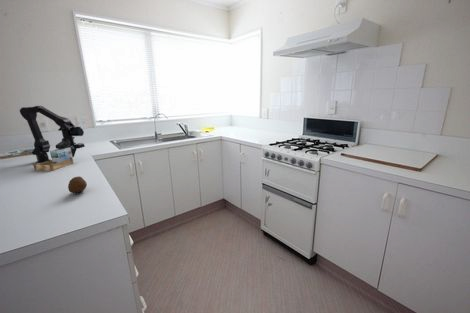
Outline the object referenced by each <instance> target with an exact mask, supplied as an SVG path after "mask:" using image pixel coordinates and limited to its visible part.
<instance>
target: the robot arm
mask: <svg viewBox="0 0 470 313" xmlns="http://www.w3.org/2000/svg"><path fill="white" fill-rule="evenodd" d="M19 113H20V115H21V117H22V118H23V119H24V120H25V121H26V122H27V124H28V126H29V129H30V132H31V134H32V137H33V138H34V142H33V146H34V149H33V150H32V151H31V154H32V155H33V156H35V157H36V163H38V164H40V163H44V162H47V161H50V160H51V159H50V158H49V155H48V153H50V148H51V144H50V141H49V140H46V139H45V138H44V136H43V134H42V131H41V128H40V126H39V124H38V121H37V117H38V113H39V114H41V115H43V116H45V117H47V118H48V119H50V120H51V121H53V122H54V123H55V124H56V126H58V127H59V128H58V130H57V131H58V132H59V131H61V135H62V138H61V141H60V142H59V143H57V144H55V149H65V148H71V152H72V157H73V158H75V155H76V151H77V149H82V148H85V147H86V146H85V143H83V142H79V143H76V142H75V140H74V139H75V137H82V136H84V129H82V127H81V126H77V125H75V124H74V123H73V122H72V120H71V119H69V118H68V117H64V116H61V115H59V114H57V113H54V112H53V111H51V110H49V109H47V108H46V107H44V106H43V105H35V106H25V107H21V108H20V109H19Z"/></svg>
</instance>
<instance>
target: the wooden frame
mask: <svg viewBox="0 0 470 313" xmlns="http://www.w3.org/2000/svg"><path fill="white" fill-rule="evenodd" d="M49 160H50V161H47V162H43V163H37V162H35V163H32V165H33V169H34V171H35V172H36V171H40V172H43V171H46V172H47V171H48V172H53V171H56V170H59V169H61V168H64V167H67V165H68V166H70V165H73V164H74V158H73V159H72V157H70V158H69V160H66V161H63V162H60V163H57V164H54V165H53V162H52V159H49Z"/></svg>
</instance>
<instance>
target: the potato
mask: <svg viewBox="0 0 470 313" xmlns="http://www.w3.org/2000/svg"><path fill="white" fill-rule="evenodd" d="M67 189H68V191H69V193H72V194H78V193H81V192H83V191H85V190H86V189H87V181H86V180H85V179H84V178H83V177H82V176H75V177H73V178H71V179H70V180H69V182H68V185H67Z"/></svg>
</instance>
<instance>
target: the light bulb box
mask: <svg viewBox="0 0 470 313" xmlns="http://www.w3.org/2000/svg"><path fill="white" fill-rule="evenodd" d="M49 154H50V157H51V160H52V162H53V165H54V164H57V163H60V162H63V161H66V160H69V158H70V157H72V152H71V148H65V149H56V148H55V149H52V150H49ZM72 159H73V160H74V157H72Z"/></svg>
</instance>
